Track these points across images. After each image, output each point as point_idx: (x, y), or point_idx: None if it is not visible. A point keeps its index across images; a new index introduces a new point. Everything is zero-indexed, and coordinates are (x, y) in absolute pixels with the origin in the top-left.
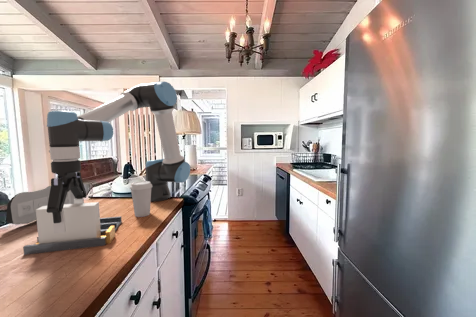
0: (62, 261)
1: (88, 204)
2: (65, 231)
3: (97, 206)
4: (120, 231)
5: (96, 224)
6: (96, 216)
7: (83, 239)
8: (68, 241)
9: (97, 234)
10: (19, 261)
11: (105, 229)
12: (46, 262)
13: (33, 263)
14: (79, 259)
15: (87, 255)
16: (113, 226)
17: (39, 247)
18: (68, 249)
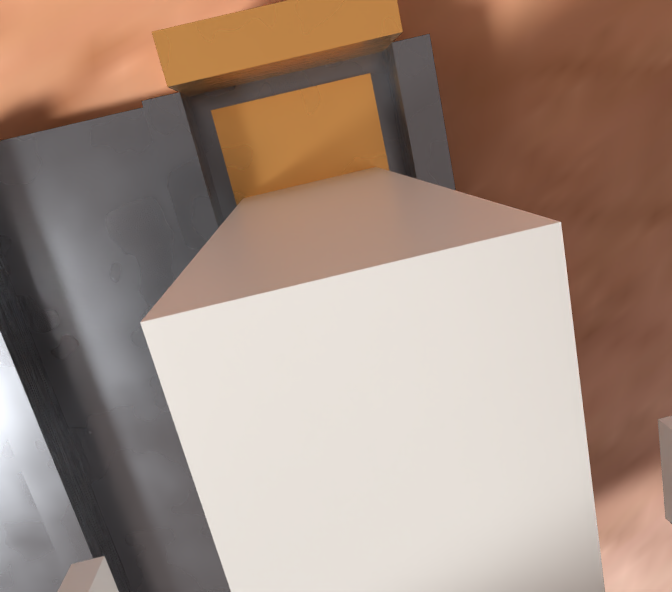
0: (663, 271)
1: (422, 482)
2: (670, 416)
3: (299, 259)
4: (38, 61)
5: (379, 186)
6: (382, 201)
7: None
8: None
9: (348, 178)
10: (603, 575)
11: (167, 180)
12: (654, 383)
13: (650, 463)
14: (657, 145)
15: (597, 115)
16: (188, 30)
17: None
18: None
